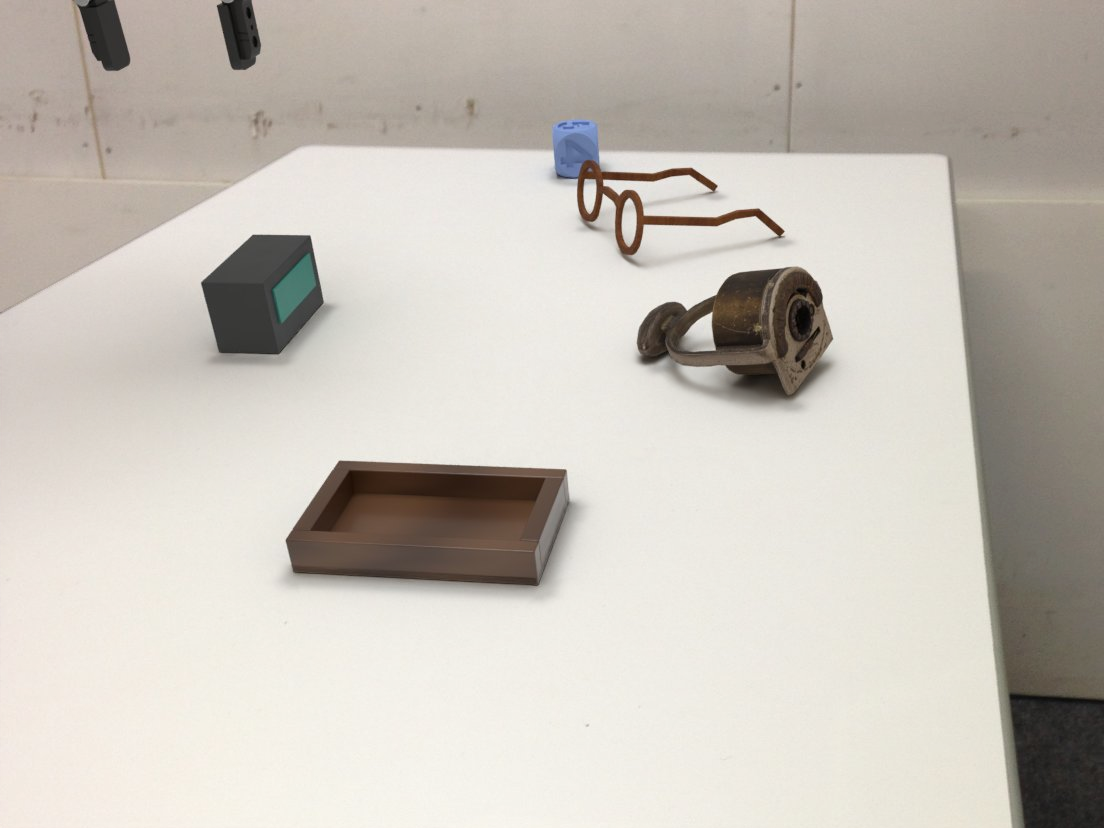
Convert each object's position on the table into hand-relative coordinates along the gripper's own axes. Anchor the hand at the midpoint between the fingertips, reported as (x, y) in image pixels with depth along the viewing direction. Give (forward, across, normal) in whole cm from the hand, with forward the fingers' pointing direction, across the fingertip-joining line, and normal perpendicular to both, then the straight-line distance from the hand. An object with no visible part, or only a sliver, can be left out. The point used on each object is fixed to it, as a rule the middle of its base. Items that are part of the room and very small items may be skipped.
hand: (181, 67), depth 79 cm
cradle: (+18, +21, -24) cm, 36 cm away
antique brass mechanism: (+18, +34, -1) cm, 39 cm away
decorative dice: (+18, +15, +37) cm, 44 cm away
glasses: (+18, +27, +24) cm, 40 cm away
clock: (+18, +1, +2) cm, 18 cm away
